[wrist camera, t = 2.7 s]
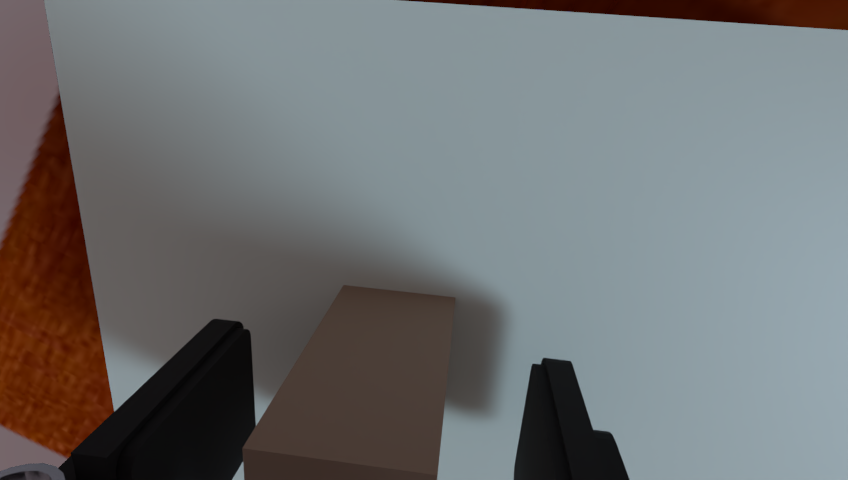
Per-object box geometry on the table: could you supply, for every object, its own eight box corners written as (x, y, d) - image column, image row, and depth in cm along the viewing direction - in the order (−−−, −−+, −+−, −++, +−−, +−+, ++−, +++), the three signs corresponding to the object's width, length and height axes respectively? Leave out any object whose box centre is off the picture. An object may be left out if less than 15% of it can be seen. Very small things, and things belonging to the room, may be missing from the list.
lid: (1170, 57, 9) (2334, 41, 3) (848, 643, 14) (1086, 1013, 8) (72, -18, 10) (-394, -113, 5) (156, 536, 15) (-19, 791, 10)
